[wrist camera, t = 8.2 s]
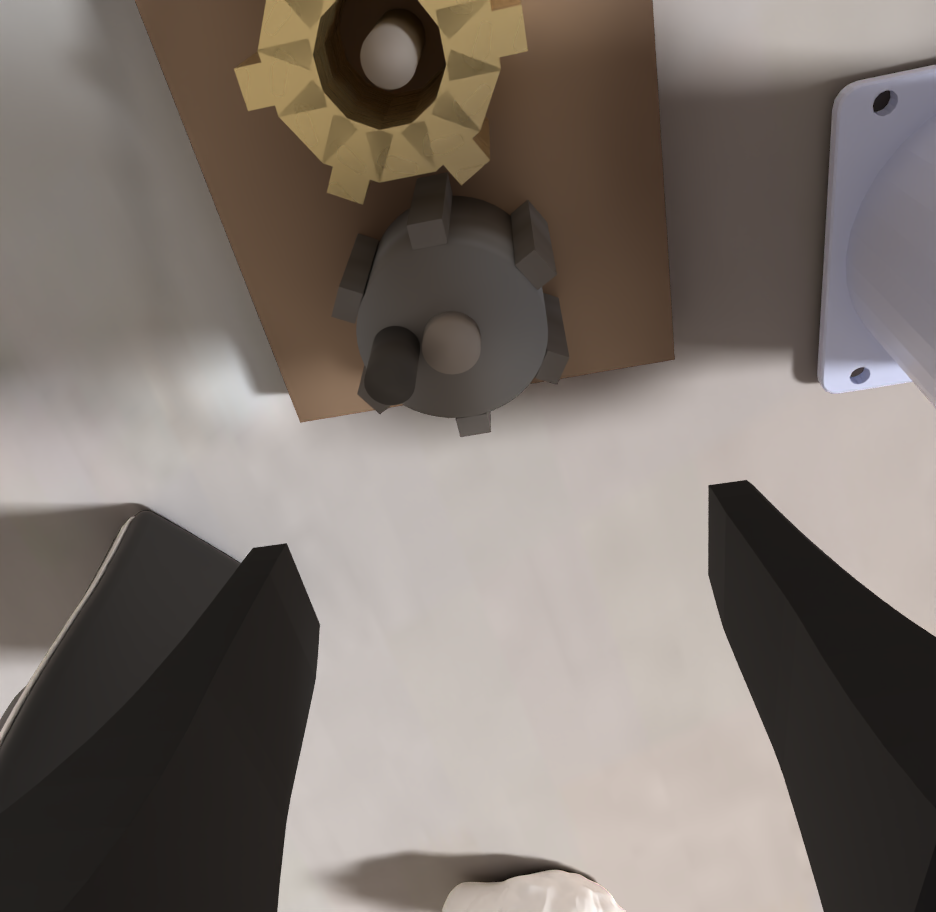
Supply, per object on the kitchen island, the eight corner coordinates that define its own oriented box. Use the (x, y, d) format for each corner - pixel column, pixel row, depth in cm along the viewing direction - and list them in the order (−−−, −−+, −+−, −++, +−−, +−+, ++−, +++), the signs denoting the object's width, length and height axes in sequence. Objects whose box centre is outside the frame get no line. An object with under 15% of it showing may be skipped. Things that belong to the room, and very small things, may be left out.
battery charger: (83, 558, 27) (-130, 917, 17) (141, 494, 25) (-61, 854, 16) (255, 655, 29) (151, 1010, 20) (318, 604, 28) (235, 964, 19)
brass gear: (497, -140, 14) (500, -145, 12) (535, 128, 17) (544, 169, 15) (235, -76, 15) (188, -68, 13) (312, 173, 18) (284, 220, 15)
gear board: (593, -687, 12) (670, -1091, 7) (663, 332, 21) (716, 464, 17) (-16, -479, 13) (-314, -693, 8) (309, 393, 23) (263, 532, 18)
